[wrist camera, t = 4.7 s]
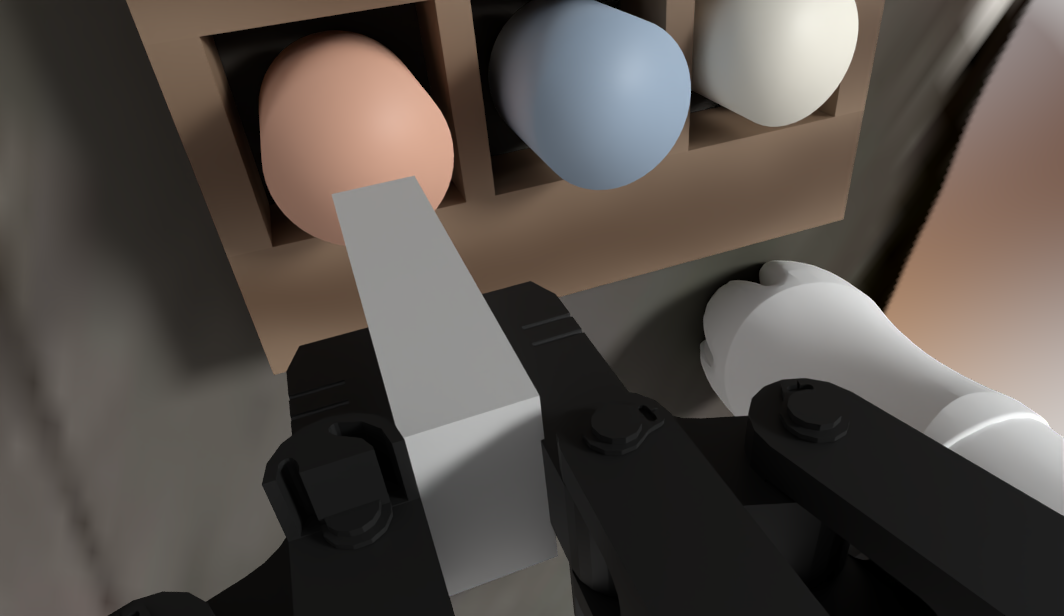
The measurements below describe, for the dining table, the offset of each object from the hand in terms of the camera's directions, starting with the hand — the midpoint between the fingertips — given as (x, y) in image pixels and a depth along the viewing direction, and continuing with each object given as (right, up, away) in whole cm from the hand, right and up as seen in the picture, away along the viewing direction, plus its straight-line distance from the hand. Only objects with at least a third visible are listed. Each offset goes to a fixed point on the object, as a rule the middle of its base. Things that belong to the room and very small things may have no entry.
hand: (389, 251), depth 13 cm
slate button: (+3, +6, +8) cm, 11 cm away
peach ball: (-3, +4, +6) cm, 8 cm away
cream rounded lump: (+9, +9, +10) cm, 16 cm away
